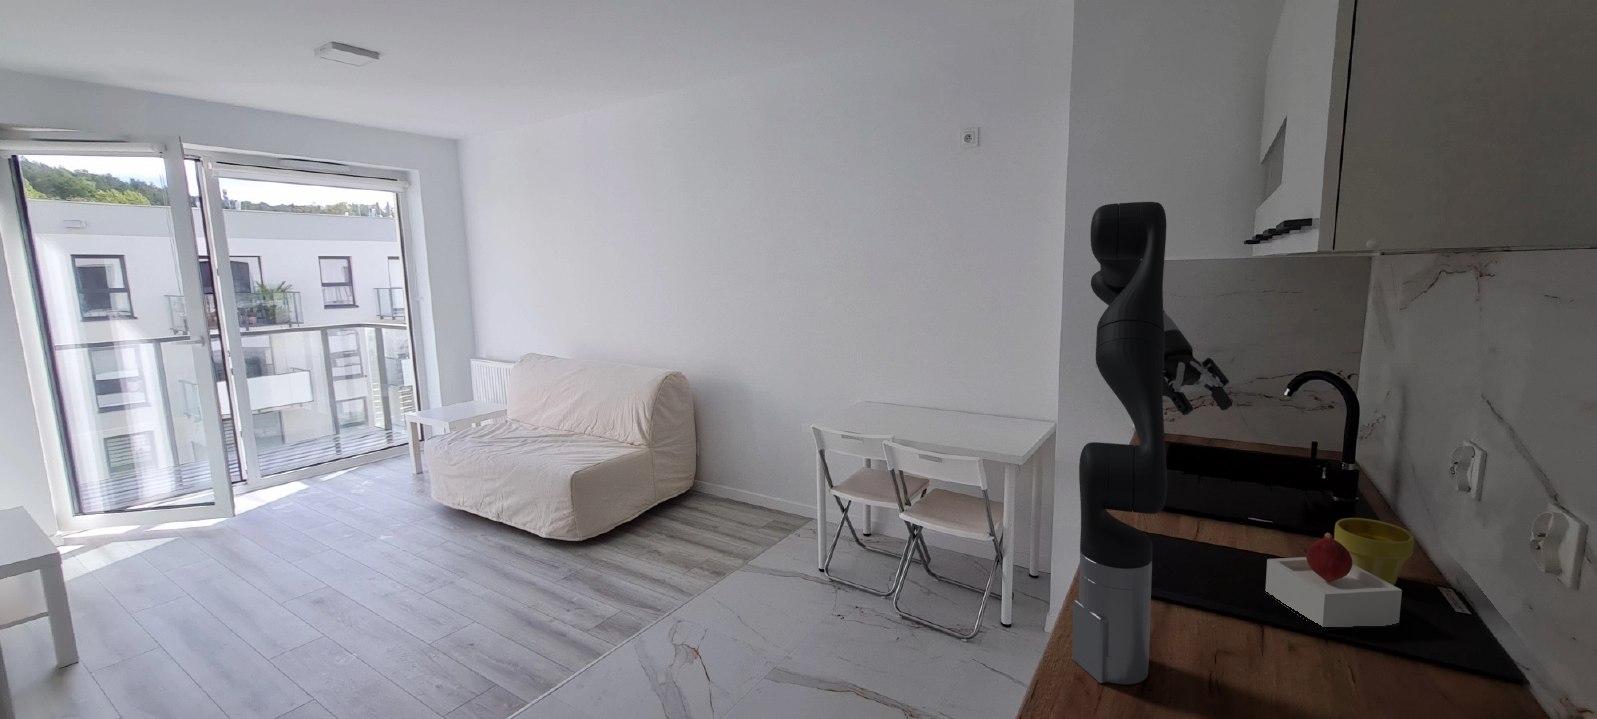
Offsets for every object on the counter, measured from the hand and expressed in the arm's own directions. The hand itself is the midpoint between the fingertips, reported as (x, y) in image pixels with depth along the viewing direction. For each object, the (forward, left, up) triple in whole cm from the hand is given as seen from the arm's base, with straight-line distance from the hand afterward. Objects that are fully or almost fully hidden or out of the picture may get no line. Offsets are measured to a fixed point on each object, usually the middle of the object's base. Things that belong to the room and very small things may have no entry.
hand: (1208, 410), depth 116 cm
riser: (+8, -17, -31) cm, 36 cm away
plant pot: (+23, -13, -31) cm, 41 cm away
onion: (+8, -17, -26) cm, 32 cm away
